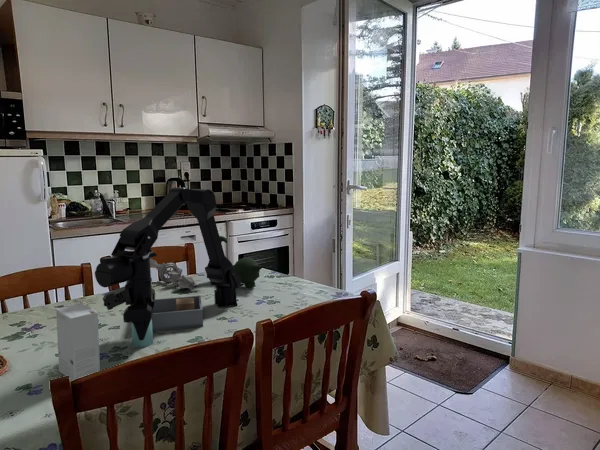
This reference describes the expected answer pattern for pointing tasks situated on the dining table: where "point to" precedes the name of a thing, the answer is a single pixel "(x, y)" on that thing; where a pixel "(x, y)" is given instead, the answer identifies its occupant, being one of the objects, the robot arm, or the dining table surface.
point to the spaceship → (172, 274)
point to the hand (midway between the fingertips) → (142, 335)
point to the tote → (176, 314)
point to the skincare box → (78, 340)
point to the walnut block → (184, 304)
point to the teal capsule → (147, 340)
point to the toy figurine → (246, 269)
